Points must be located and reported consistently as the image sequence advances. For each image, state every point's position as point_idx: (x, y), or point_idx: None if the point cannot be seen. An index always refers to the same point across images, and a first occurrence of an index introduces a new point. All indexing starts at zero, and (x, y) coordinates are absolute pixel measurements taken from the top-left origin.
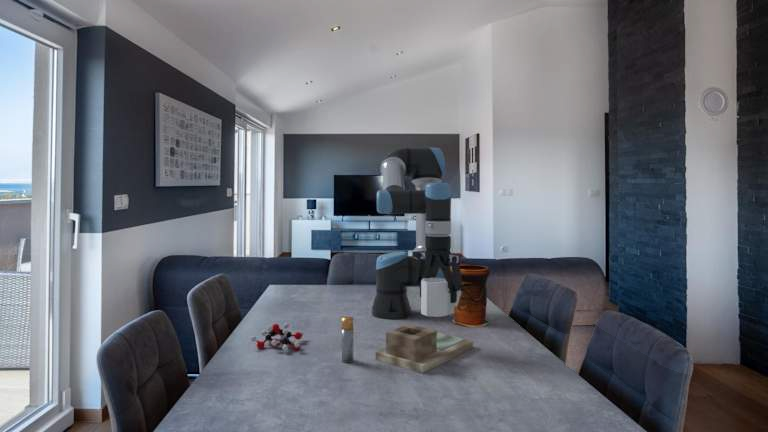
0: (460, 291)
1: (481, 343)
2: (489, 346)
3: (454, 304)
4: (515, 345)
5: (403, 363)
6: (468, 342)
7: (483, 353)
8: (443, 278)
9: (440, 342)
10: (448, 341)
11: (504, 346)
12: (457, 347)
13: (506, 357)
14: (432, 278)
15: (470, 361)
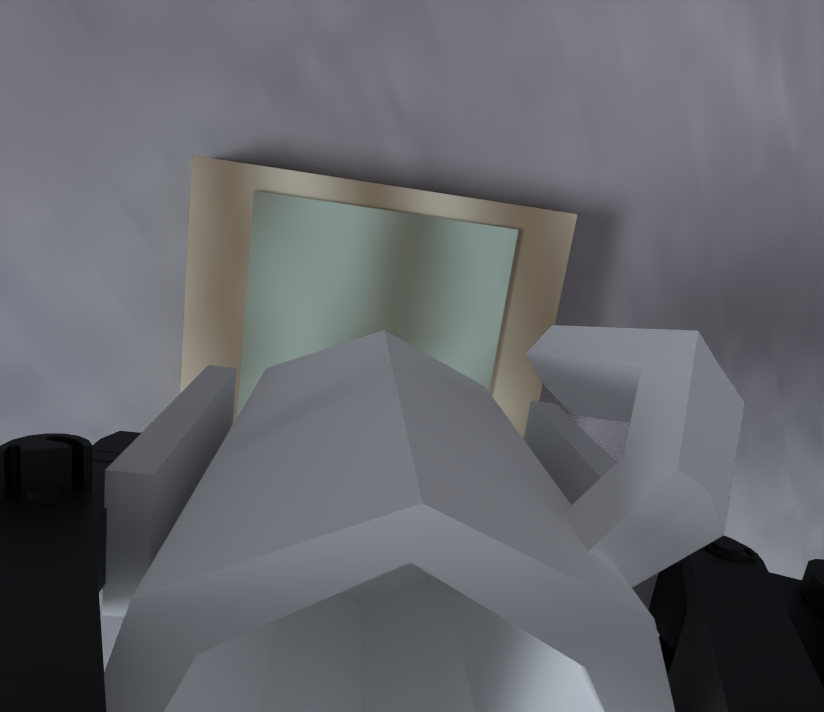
0: (735, 416)
1: (586, 96)
2: (649, 130)
3: (580, 414)
4: (799, 10)
5: None
6: (560, 261)
7: (645, 280)
8: (473, 535)
9: None
10: (443, 329)
11: (736, 74)
12: (530, 389)
13: (775, 272)
14: (218, 642)
15: (614, 434)
